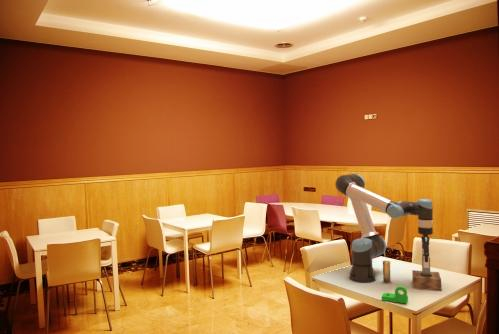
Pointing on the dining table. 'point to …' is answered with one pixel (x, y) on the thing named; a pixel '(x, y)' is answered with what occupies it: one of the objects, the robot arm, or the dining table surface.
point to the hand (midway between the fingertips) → (425, 264)
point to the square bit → (425, 270)
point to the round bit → (386, 272)
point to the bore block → (426, 281)
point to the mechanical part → (396, 295)
